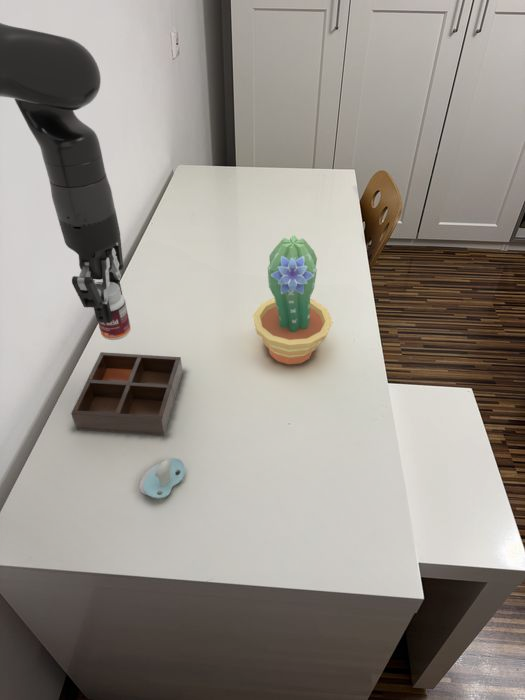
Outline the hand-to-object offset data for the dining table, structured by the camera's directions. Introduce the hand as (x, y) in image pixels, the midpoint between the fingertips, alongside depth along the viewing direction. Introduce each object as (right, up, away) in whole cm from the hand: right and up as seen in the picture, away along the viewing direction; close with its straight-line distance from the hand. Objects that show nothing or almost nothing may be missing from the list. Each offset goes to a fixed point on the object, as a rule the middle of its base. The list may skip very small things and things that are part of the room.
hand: (110, 310), depth 78 cm
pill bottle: (0, -3, +3) cm, 5 cm away
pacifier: (+8, -27, 0) cm, 28 cm away
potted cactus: (+29, -6, +24) cm, 38 cm away
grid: (0, -15, +13) cm, 20 cm away
